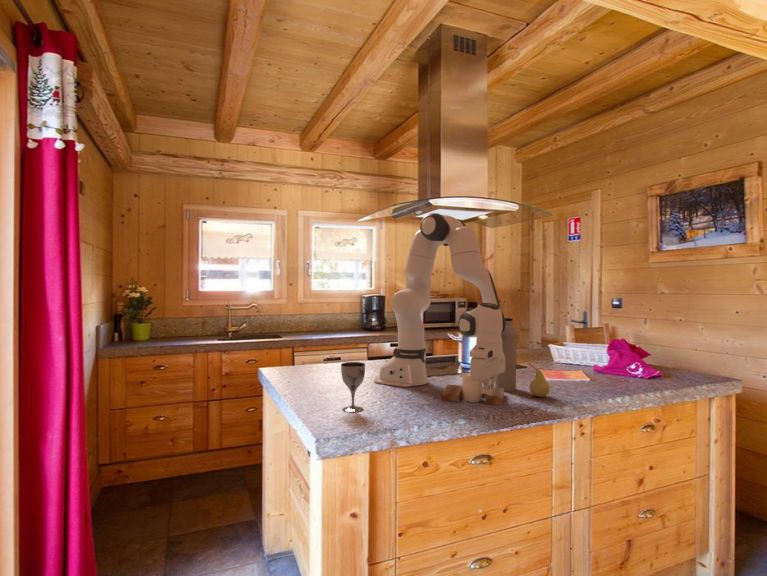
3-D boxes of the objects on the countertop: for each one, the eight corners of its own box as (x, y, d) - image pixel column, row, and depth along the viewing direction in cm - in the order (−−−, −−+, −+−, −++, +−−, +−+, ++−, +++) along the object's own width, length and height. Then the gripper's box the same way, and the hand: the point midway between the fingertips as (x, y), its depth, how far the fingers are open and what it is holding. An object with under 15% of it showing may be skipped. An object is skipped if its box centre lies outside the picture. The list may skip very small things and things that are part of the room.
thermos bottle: (514, 387, 176) (515, 317, 175) (516, 392, 168) (517, 319, 168) (494, 385, 178) (495, 316, 177) (495, 390, 170) (496, 318, 169)
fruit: (547, 400, 157) (548, 367, 157) (526, 397, 161) (526, 364, 161) (551, 396, 163) (551, 364, 163) (530, 393, 167) (531, 361, 166)
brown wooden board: (441, 400, 156) (441, 393, 156) (447, 390, 170) (447, 384, 170) (502, 405, 151) (503, 398, 151) (503, 395, 164) (503, 388, 164)
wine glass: (340, 406, 149) (341, 362, 148) (364, 405, 149) (364, 361, 149) (340, 413, 141) (340, 366, 140) (365, 412, 141) (365, 366, 141)
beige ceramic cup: (456, 399, 157) (456, 374, 157) (465, 395, 163) (465, 371, 163) (486, 405, 151) (486, 379, 151) (494, 400, 156) (494, 375, 156)
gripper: (493, 345, 163) (493, 382, 164) (466, 352, 148) (466, 393, 148) (510, 347, 159) (509, 385, 160) (484, 354, 144) (483, 396, 144)
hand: (488, 389), depth 154 cm, fingers closed on beige ceramic cup, 2 cm apart
